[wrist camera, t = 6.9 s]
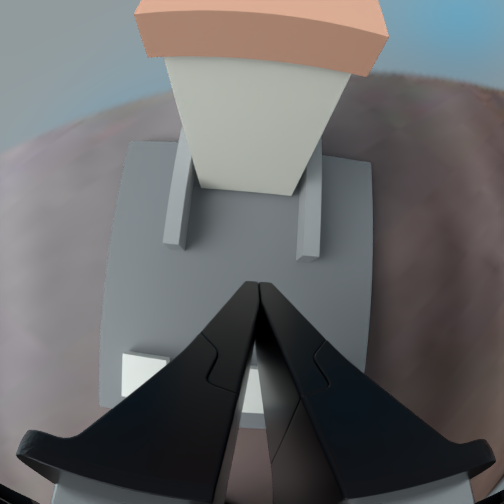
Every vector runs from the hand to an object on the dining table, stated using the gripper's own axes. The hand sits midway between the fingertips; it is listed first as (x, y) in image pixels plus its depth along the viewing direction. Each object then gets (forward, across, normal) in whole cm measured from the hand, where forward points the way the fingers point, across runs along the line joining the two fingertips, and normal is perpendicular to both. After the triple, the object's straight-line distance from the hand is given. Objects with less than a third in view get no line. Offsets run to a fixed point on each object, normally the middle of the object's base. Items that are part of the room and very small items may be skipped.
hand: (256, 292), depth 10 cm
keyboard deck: (+6, -1, -5) cm, 8 cm away
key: (+10, 0, +1) cm, 10 cm away
